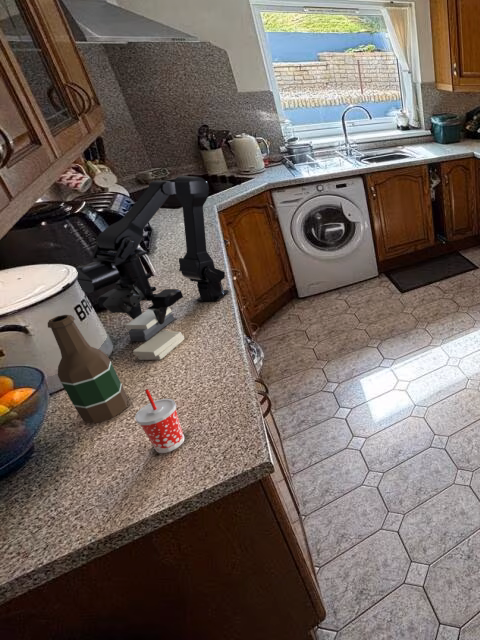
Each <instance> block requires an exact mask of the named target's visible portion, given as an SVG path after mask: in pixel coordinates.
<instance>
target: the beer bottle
mask: <svg viewBox="0 0 480 640" xmlns="http://www.w3.org/2000/svg"><path fill="white" fill-rule="evenodd" d="M75 319H76V318H75V317H74V316H73V315H71V314H62V315H57V316H54V317H53V318H51V319H49V320H48V321H47V328H49V329H51V332H52V334H53V337H54V339H55V341H56V343H57V346H58V349H59V351H60V356H61V358H60V361H59V363H58V365H57V377H58V379H59V382H60V383H61V385H62V387H63V389H64V390H65V392H66V394H67V396H68V398H69V399H70V401H71V403H72V405H73V407H74V408H75V410H76V412H77V414H78V416H79V417H80V418H81V420H82V421H83V422H86V423H92V424H99V423H101V422H104V421H107V420H110V419H113V418H115V417H116V416H118V415H119V414H121V412H124V411H125V410H126V409H127V405H128V402H129V401H128V400H129V399H128V395H127V392H126V391H125V388H124V386H123V384H122V382H121V379H120V378H119V376H118V373H117V372H116V370H115V367H114V365H113V363H112V361H111V359H110V358H109V356H108V355H107V354H106V353H105V352H104V351H102V350H101V349H99V348H96V347H94V346H91V345H90V344H89V342H87V340H86V338H85V337H84V335H83V334H82V332H81V331H80V329H79V328H78V326H77V325H76V323H75Z"/></svg>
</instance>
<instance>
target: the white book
mask: <svg viewBox="0 0 480 640" xmlns="http://www.w3.org/2000/svg"><path fill="white" fill-rule="evenodd" d="M169 313H172V309H171V307H168V308H167V312H166V315H168V314H169ZM157 322H158V321H157V319H156V316H155V314H154V312H153V311H152V310H149V309H146V310H145V311H143V312H142V314H141V315H139V316H138V317H137V318H135V319H134V320H133V319H132V320H131V321H129V322H128V323H126V324H125V327H126V329H127V330H131V329H149V328H150V327H151V326H153V325H154V324H155V323H157Z"/></svg>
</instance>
